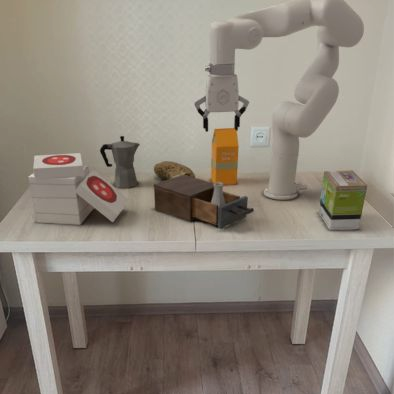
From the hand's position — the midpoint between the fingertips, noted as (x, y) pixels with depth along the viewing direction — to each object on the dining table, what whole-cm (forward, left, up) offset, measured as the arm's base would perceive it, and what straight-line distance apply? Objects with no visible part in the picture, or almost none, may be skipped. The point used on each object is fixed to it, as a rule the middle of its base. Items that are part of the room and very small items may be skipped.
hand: (221, 130), depth 158 cm
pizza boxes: (+48, +6, -26) cm, 54 cm away
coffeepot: (+36, -26, -26) cm, 51 cm away
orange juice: (-4, -28, -26) cm, 38 cm away
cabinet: (+12, +2, -26) cm, 28 cm away
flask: (+2, +12, -24) cm, 27 cm away
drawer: (0, +13, -25) cm, 28 cm away
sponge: (+16, -30, -26) cm, 42 cm away
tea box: (-38, +15, -26) cm, 49 cm away
